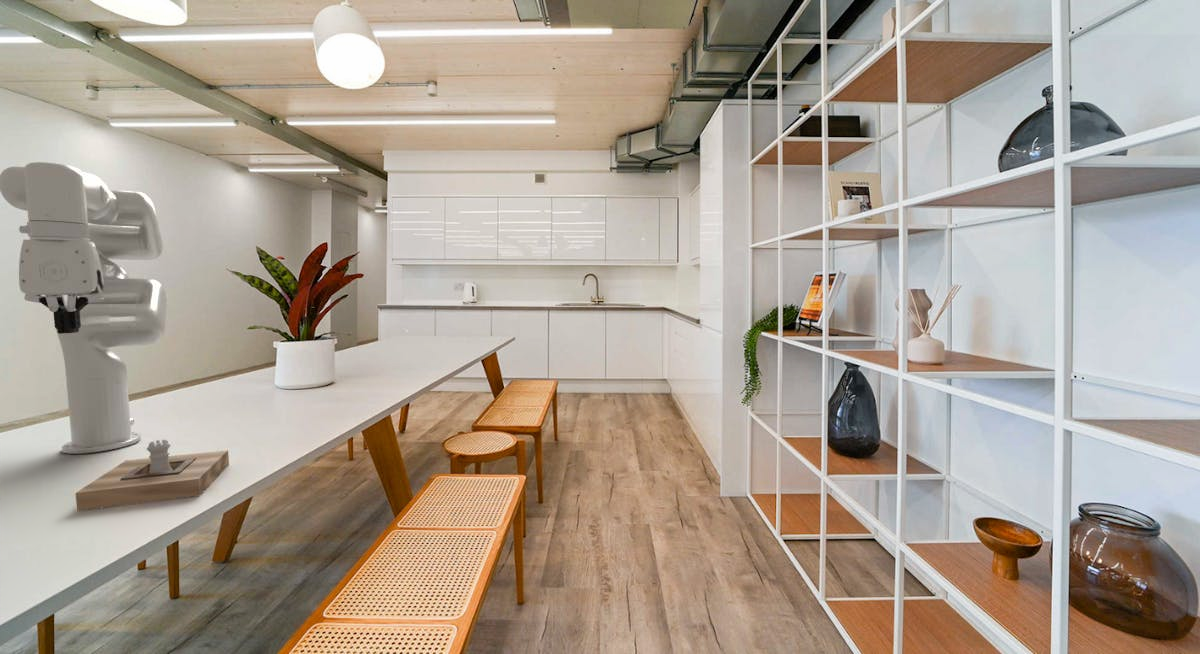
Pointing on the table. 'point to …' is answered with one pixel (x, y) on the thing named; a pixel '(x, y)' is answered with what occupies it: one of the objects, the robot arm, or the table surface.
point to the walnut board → (153, 481)
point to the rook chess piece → (159, 456)
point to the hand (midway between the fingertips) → (68, 332)
